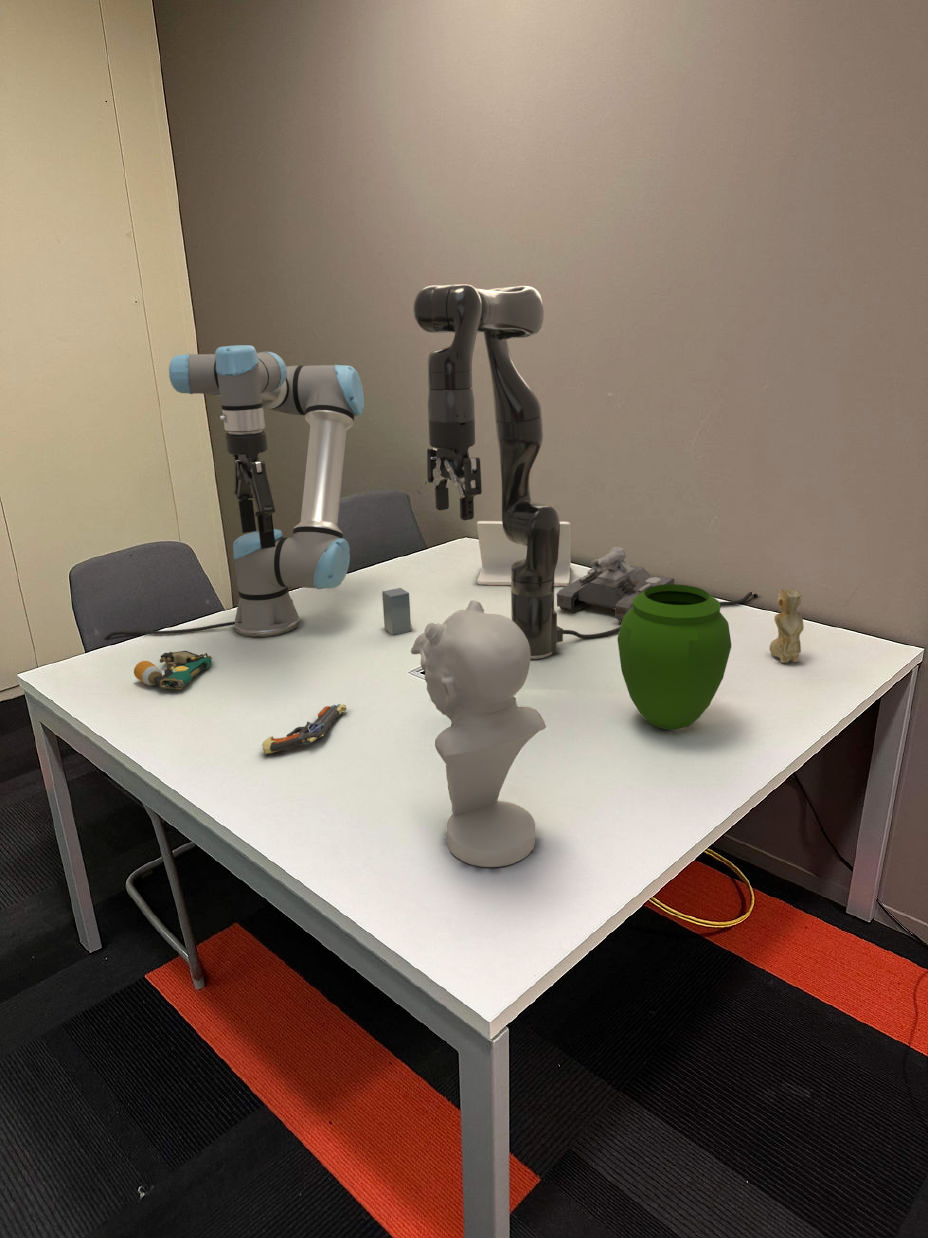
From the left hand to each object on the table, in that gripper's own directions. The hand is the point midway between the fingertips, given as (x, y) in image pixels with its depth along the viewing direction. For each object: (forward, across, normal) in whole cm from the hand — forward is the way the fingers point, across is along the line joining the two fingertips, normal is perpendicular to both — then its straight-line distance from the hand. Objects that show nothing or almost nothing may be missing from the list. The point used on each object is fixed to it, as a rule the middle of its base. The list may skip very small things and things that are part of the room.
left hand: (258, 539), depth 169 cm
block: (+30, -10, +33) cm, 45 cm away
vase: (+29, +59, +56) cm, 87 cm away
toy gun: (+29, +29, -3) cm, 41 cm away
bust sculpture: (+29, +71, +8) cm, 77 cm away
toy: (+30, +4, +86) cm, 92 cm away
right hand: (-10, +39, +24) cm, 47 cm away
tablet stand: (+30, -29, +80) cm, 91 cm away
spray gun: (+30, -10, -18) cm, 36 cm away
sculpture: (+30, +50, +95) cm, 112 cm away
